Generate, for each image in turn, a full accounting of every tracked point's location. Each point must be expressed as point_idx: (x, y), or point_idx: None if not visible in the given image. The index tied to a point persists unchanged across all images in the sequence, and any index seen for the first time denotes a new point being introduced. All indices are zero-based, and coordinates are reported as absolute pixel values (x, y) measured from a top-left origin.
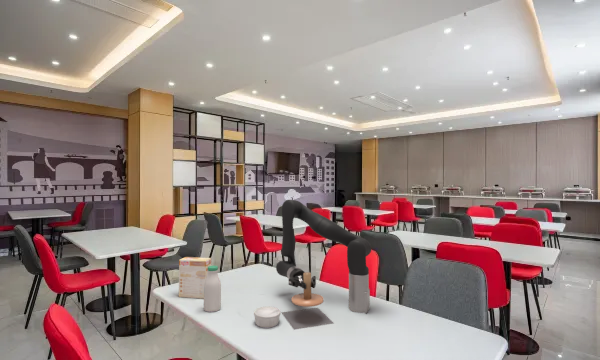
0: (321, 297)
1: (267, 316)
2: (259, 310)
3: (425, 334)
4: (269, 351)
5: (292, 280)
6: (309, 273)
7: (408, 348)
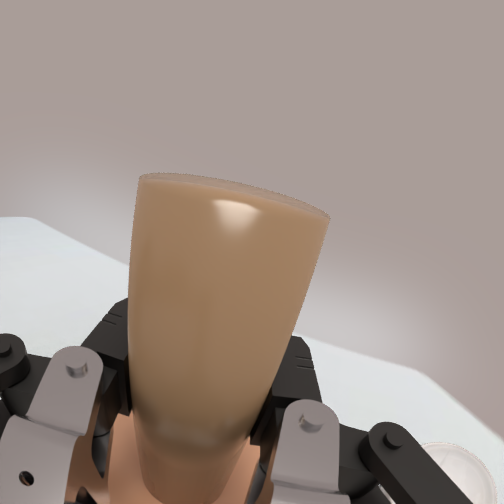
0: None
1: (440, 448)
2: (481, 499)
3: (12, 254)
4: (384, 368)
5: (461, 496)
6: (204, 179)
7: (85, 258)
